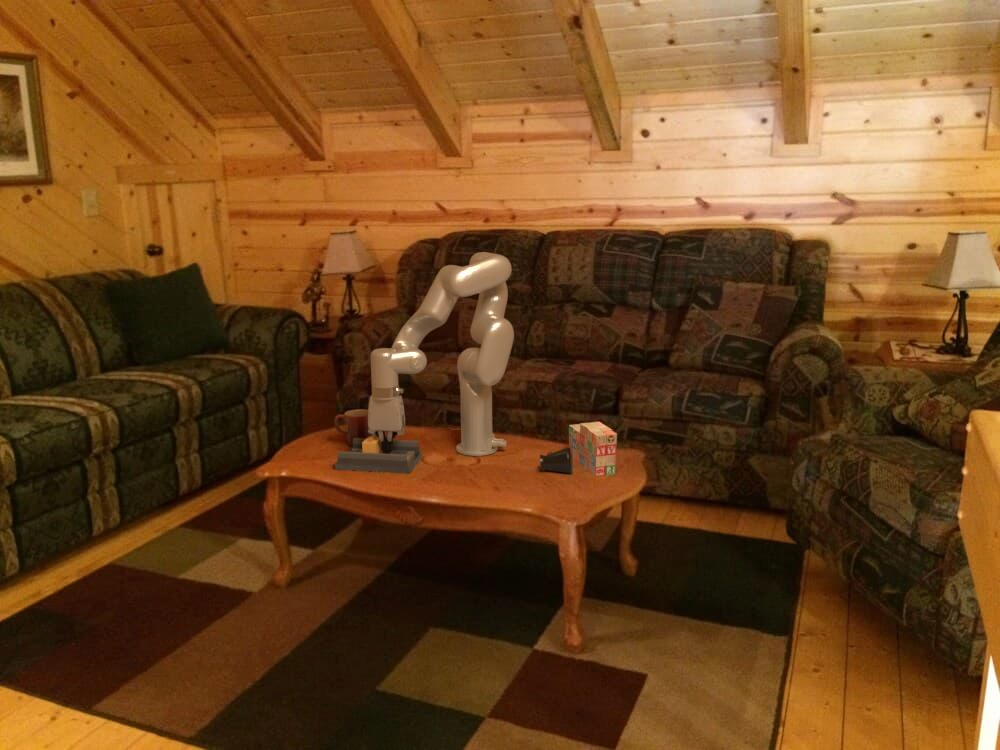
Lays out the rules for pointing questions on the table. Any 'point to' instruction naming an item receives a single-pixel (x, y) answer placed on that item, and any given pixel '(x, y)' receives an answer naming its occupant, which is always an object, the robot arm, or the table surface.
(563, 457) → the black tapered piece
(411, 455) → the panel
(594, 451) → the stack of blocks
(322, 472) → the table surface
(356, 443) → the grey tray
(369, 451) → the cheese wedge
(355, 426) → the mug
